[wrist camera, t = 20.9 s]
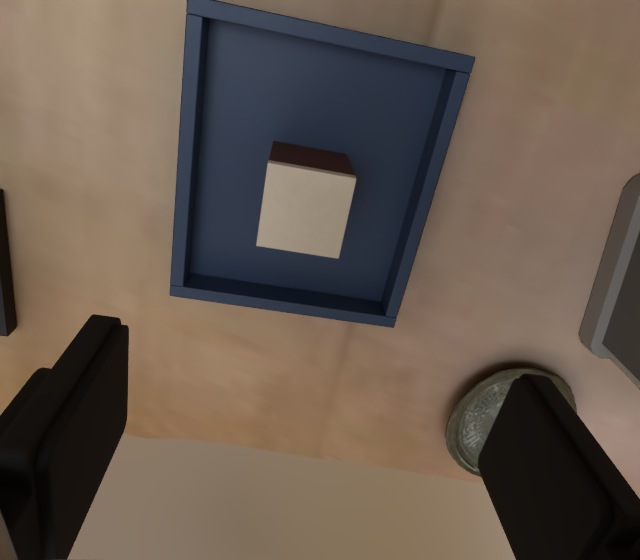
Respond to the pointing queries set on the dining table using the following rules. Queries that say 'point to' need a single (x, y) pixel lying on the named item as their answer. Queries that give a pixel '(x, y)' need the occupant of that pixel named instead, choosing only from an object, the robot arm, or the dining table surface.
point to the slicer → (5, 279)
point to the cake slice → (305, 200)
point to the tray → (311, 131)
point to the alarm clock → (618, 291)
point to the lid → (486, 413)
